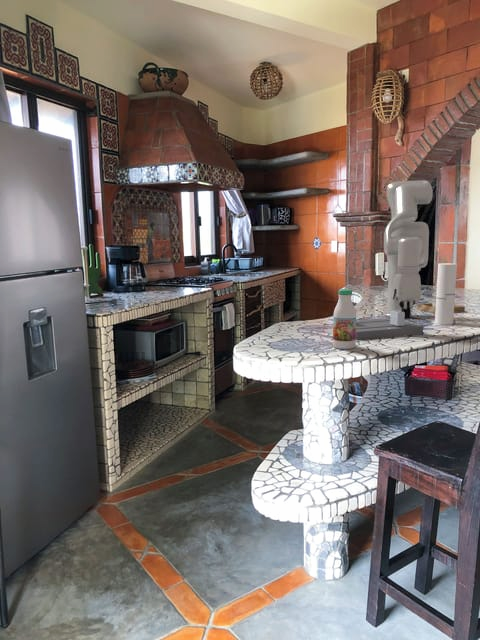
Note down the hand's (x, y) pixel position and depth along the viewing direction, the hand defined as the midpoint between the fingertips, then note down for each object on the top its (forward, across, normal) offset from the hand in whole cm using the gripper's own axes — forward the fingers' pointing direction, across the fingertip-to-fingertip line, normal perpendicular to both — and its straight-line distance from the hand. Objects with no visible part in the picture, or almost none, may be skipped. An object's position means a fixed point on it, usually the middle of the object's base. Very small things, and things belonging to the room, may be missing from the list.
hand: (405, 318), depth 180 cm
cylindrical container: (+6, -26, -10) cm, 28 cm away
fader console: (+6, +9, -5) cm, 12 cm away
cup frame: (+6, -45, -37) cm, 59 cm away
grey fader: (+2, +4, 0) cm, 4 cm away
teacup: (+6, -44, -36) cm, 57 cm away
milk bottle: (+6, +32, +12) cm, 35 cm away
